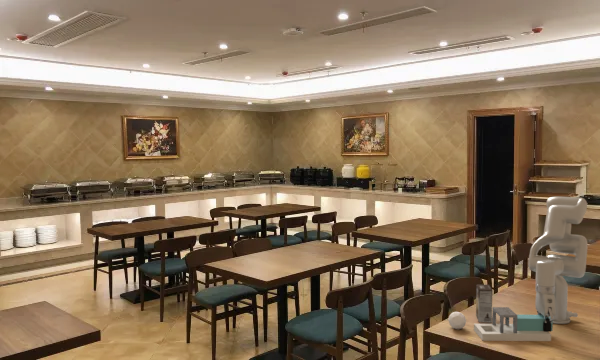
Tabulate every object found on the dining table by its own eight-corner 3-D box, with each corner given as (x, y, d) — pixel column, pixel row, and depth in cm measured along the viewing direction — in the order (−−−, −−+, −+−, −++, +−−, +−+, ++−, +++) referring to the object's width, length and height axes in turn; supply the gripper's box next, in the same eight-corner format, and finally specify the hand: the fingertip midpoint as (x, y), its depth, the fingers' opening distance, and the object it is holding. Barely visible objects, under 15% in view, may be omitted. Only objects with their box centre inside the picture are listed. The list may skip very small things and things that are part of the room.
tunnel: (508, 324, 219) (508, 307, 219) (517, 333, 209) (517, 315, 208) (492, 324, 220) (492, 307, 219) (500, 333, 209) (500, 315, 209)
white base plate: (538, 330, 219) (538, 324, 219) (550, 341, 207) (551, 334, 207) (473, 330, 221) (473, 323, 221) (482, 340, 209) (482, 333, 209)
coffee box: (475, 315, 240) (475, 283, 238) (489, 316, 238) (489, 284, 237) (478, 322, 231) (478, 289, 229) (492, 323, 229) (493, 289, 228)
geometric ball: (459, 335, 221) (461, 326, 216) (444, 325, 226) (445, 316, 221) (468, 324, 225) (470, 314, 220) (453, 315, 230) (454, 305, 225)
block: (547, 326, 216) (547, 314, 215) (552, 331, 211) (552, 318, 210) (512, 326, 217) (513, 314, 216) (517, 330, 212) (517, 318, 211)
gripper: (563, 294, 203) (562, 336, 205) (545, 283, 220) (544, 321, 222) (544, 294, 204) (544, 336, 205) (528, 283, 221) (527, 321, 222)
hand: (544, 328), depth 213 cm, fingers closed on block, 5 cm apart
